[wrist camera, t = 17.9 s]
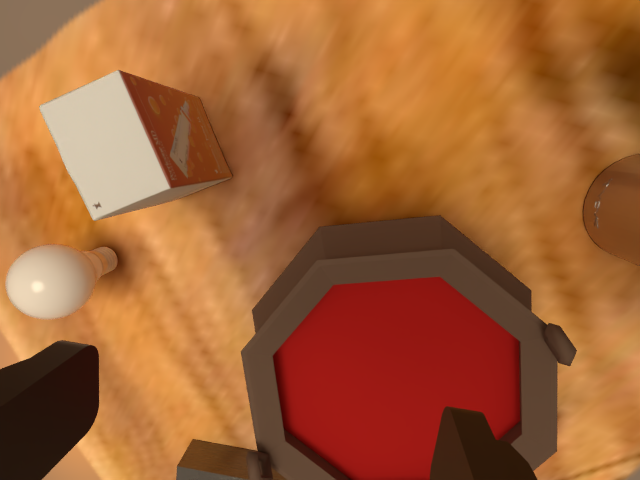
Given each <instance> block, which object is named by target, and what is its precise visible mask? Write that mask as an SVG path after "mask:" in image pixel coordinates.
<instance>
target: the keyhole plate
mask: <svg viewBox="0 0 640 480" xmlns="http://www.w3.org/2000/svg"><path fill="white" fill-rule="evenodd" d="M248 451H254V450H248V449H243V448H238V447H232V446H227V445H221V444H216V443H210V442H205V441H199V440H194V439H193V440H192V442H191V443H190V445H189V447H188V448H187V450H186V452H185V454H184V455H183V457H182V459H181V460H180V462H179V464H178V465H177V478H176V480H249V476H248V470H247V463H246V456H247V453H248ZM271 469H272V475H273V480H287V479H286V478H285V477H283V476H282V475H281V474H279V473H278V472H277V471H275V470H274V469H273V468H271Z"/></svg>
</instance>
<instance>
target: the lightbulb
mask: <svg viewBox="0 0 640 480" xmlns="http://www.w3.org/2000/svg"><path fill="white" fill-rule="evenodd" d="M117 262H118V260H117V256H116V254H115V252H114V251H113V250H112V249H110V248H108V247H98V248H96V249H93V250H91V251H78V250H76V249H74V248H72V247H69V246H66V245H60V244H46V245H41V246H37V247H34V248H32V249H30V250H28V251H26V252H24V253H23V254H21V255H20V256H19V257H18V258H17V259H16V260H15V261H14V262H13V263H12V265H11V267H10V268H9V270H8V273H7V276H6V292H7V295H8V297H9V299H10V301H11V302H12V304H13V305H14V306H15V307H16V308H17V309H18V310H19V311H21V312H22V313H24V314H26V315H28V316H30V317H33V318H37V319H45V320H51V319H59V318H63V317H66V316H69V315H71V314H73V313H75V312H76V311H78V310H79V309H81V308H82V307H83V306H84V305H85V304H86V303H87V302H88V300H89V299H90V297H91V296H92V294H93V291H94V289H95V285H96V281H98V279H99V278H100V277H101V276H102V275H104V274H106V273H108V272H110V271H112V270H114V269H115V268H116V266H117Z"/></svg>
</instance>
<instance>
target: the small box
mask: <svg viewBox="0 0 640 480" xmlns="http://www.w3.org/2000/svg"><path fill="white" fill-rule="evenodd" d="M39 108H40V111H41V113H42V115H43V118H44V120H45V122H46V124H47V126H48V129H49V131H50V133H51V135H52V137H53V139H54V141H55V143H56V146H57V148H58V150H59V152H60V155H61V157H62V160H63V162H64V164H65V167H66V169H67V171H68V173H69V174H70V176H71V178H72V180H73V181H74V183H75V185H76V187H77V189H78V191H79V193H80V195H81V197H82V199H83V201H84V203H85V205H86V207H87V209H88V211H89V213H90V215H91V217H92V219H93V220H94V221H96V220H100V219H104V218H108V217H112V216H116V215H119V214H123V213H127V212H131V211H135V210H139V209H143V208H147V207H152V206H156V205H159V204H163V203H166V202H170V201H173V200H177V199H180V198H182V197H185V196H187V195H190V194H192V193H195V192H197V191H200V190H202V189H205V188H207V187H210V186H212V185H215V184H218V183H220V182H223V181H225V180H228V179H230V178H232V174H231V172H230V170H229V168H228V166H227V163H226V161H225V159H224V157H223V154H222V152H221V150H220V147H219V145H218V142H217V140H216V138H215V135H214V133H213V130H212V128H211V125H210V123H209V121H208V118H207V116H206V113H205V111H204V108H203V106H202V103H201V100H200V98H199V97H196V96H193V95H191V94H188V93H185V92H182V91H179V90H176V89H173V88H170V87H167V86H164V85H161V84H158V83H155V82H152V81H149V80H146V79H144V78H141V77H138V76H135V75H132V74H129V73H126V72H123V71H120V70H117V71H115V72H113V73H111V74H108V75H106V76H104V77H102V78H100V79H97V80H95V81H93V82H91V83H88V84H86V85H84V86H82V87H80V88H77V89H75V90H73V91H71V92H69V93H66V94H64V95H62V96H60V97H58V98H55V99H53V100H51V101H49V102H46V103H44V104H42V105H40V106H39Z"/></svg>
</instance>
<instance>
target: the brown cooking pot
mask: <svg viewBox="0 0 640 480" xmlns="http://www.w3.org/2000/svg"><path fill="white" fill-rule="evenodd" d="M252 313H253V319H254V326H255V332H256V334H255V335H254V336H253V338H252V339H251V340H250V341H249V342H248V344H247V345H246V346H245V347H244V348H243V350H242V351H241V355H242V361H243V367H244V373H245V379H246V385H247V391H248V397H249V403H250V409H251V414H252V420H253V426H254V432H255V438H256V444H257V450H258V451H248V453H247V456H246V463H247V470H248V476H249V480H273V475H272V469H271V468H273V469H274V470H275V471H277V472H278V473H279V474H281V475H282V476H283V477H285V478H286V479H287V480H430V469H431V463H432V458H433V454H434V449H435V445H436V440H437V435H438V431H439V426H440V421H441V417H442V413H443V410H444V408H445V407H446V406H449V407H455V408H461V409H467V410H473V411H479V412H482V413H483V414H484V415H485V417H486V419H487V422H488V424H489V426H490V428H491V430H492V433H493V435H494V437H495V439H496V440H501V441H506V442H509V443H510V444H511V445H512V446H513V447H514V448H515V449H516V450H517V451H518V452H519V453H520V454H521V455H522V456H523V458H524V459H525V460H526V461H527V462H528V463H529V465H530V467H531V468H532V470H533V471H534V470H535V469H536V468H537V467H539V466H540V465H541V464H542V463H543V462H545V461H546V460H547V459H548V458H549V457H551V456H552V455H553V454H554V453H555V452H557V361H558V362H559V363H561V364H564V365H567V366H570V365H571V363H572V361H573V359H574V357H575V354H576V351H577V350H576V348H575V347H574V346H573V344H572V343H571V341H570V340H569V338H568V337H567V336H566V334H565V333H564V331H563V330H562V328H561V327H560V326H558V325H554V324H551V323H548V325H547V324H545V323H544V322H543V321H542V320H541V319H539V318H538V317H537V316H536V315H534V314H533V313H532V312H531V290H530V289H529V288H528V287H527V286H525V285H524V284H523V283H522V282H520V281H519V280H518V279H517V278H516V277H514V276H513V275H512V274H511V273H509V272H508V271H507V270H506V269H505V268H503V267H502V266H501V265H500V264H499V263H497V262H496V261H495V260H494V259H492V258H491V257H490V256H489V255H488V254H486V253H485V252H484V251H483V250H481V249H480V248H479V247H478V246H477V245H475V244H474V243H473V242H472V241H470V240H469V239H468V238H467V237H466V236H464V235H463V234H462V233H461V232H460V231H458V230H457V229H456V228H455V227H453V226H452V225H451V224H450V223H449V222H447V221H446V220H445V219H444V218H442V217H441V216H440V215H439V216H428V217H418V218H407V219H397V220H387V221H376V222H366V223H355V224H345V225H334V226H324V227H319V228H318V230H317V231H316V232H315V233H314V235H313V236H312V237H311V238H310V239H309V241H308V242H307V243H306V244H305V246H304V247H303V248H302V249H301V251H300V252H299V253H298V254H297V255H296V257H295V258H294V259H293V260H292V262H291V263H290V264H289V265H288V267H287V268H286V269H285V270H284V271H283V273H282V274H281V275H280V276H279V278H278V279H277V280H276V281H275V283H274V284H273V285H272V286H271V287H270V289H269V290H268V291H267V292H266V294H265V295H264V296H263V297H262V299H261V300H260V301H259V302H258V303H257V305H256V306H255V307H254V308H253V310H252Z"/></svg>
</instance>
